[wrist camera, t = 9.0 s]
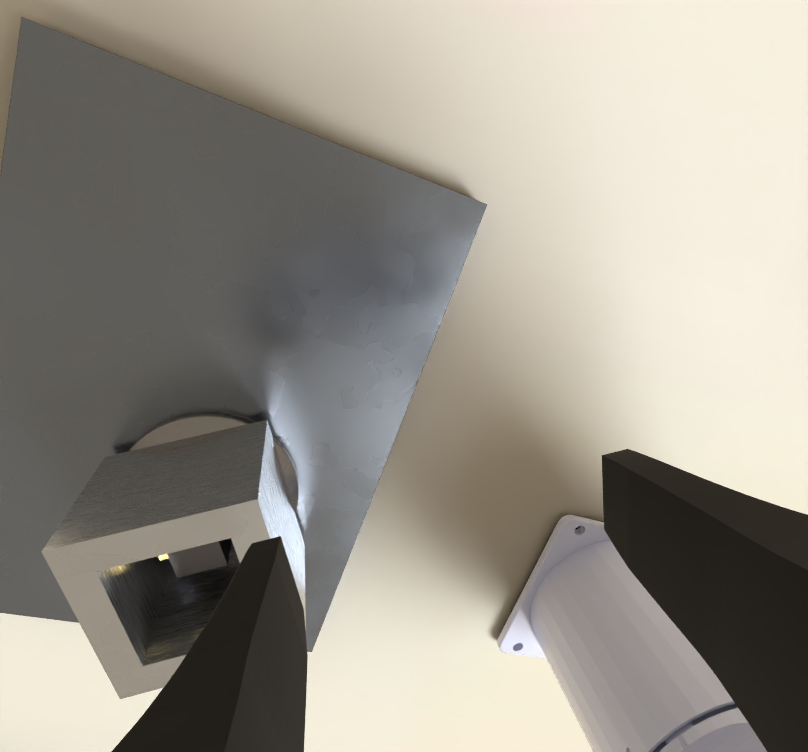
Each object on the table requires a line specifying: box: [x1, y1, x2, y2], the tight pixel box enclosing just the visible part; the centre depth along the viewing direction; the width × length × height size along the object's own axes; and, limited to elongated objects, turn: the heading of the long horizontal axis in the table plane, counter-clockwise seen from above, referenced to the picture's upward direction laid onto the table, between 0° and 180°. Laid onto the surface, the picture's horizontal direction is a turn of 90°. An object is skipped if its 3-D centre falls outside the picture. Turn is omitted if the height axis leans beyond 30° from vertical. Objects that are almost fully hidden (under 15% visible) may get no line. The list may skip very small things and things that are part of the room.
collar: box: [41, 420, 306, 699], centre depth 18 cm, size 6×6×5 cm
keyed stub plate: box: [0, 17, 487, 652], centre depth 18 cm, size 14×20×4 cm
